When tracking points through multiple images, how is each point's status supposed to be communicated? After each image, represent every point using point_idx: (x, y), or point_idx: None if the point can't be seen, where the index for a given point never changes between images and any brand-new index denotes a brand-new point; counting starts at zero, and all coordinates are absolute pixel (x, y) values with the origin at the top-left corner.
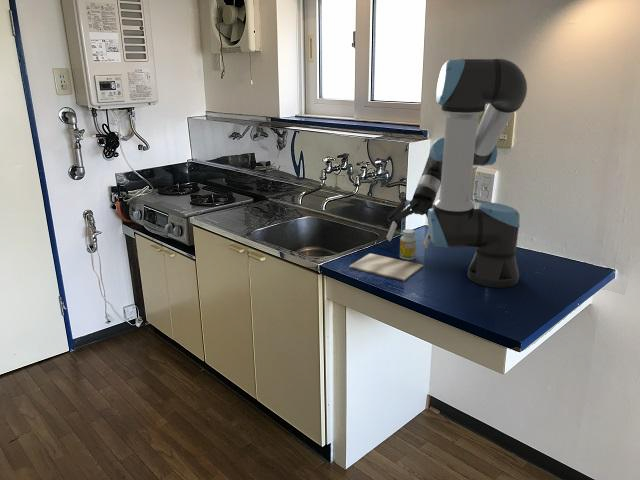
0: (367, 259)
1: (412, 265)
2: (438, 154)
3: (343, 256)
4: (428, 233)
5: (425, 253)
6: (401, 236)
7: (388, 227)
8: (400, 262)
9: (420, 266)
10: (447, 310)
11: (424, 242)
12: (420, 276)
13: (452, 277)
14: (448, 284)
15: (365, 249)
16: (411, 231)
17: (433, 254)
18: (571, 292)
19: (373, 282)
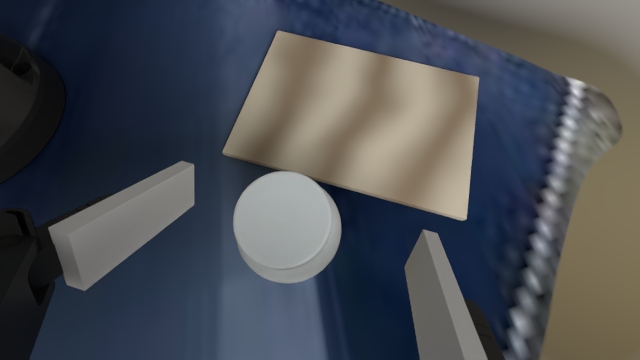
0: (445, 147)
1: (262, 135)
2: None
3: (550, 172)
4: (114, 197)
5: (214, 324)
6: (337, 230)
7: (481, 318)
8: (313, 151)
9: (231, 135)
10: None
11: (178, 167)
12: (231, 75)
13: (122, 92)
14: (144, 44)
15: (512, 288)
16: (257, 210)
17: (173, 321)
18: None
19: (362, 10)
